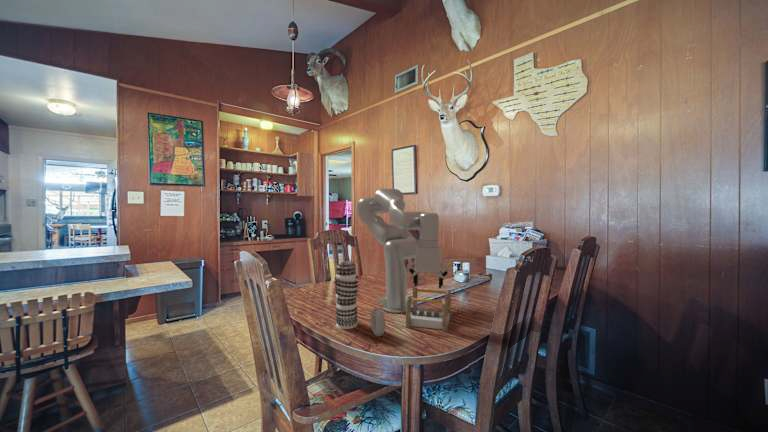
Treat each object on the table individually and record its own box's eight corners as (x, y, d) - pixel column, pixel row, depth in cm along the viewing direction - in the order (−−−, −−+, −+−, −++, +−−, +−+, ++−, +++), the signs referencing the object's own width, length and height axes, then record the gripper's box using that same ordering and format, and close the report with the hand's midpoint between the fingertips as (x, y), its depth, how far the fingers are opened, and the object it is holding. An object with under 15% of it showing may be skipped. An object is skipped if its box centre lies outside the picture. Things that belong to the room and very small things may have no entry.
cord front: (409, 300, 117) (409, 298, 117) (409, 300, 118) (409, 297, 118) (443, 303, 114) (443, 301, 114) (443, 303, 115) (443, 300, 114)
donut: (386, 340, 107) (386, 312, 107) (377, 341, 106) (377, 313, 105) (378, 329, 116) (377, 303, 116) (369, 330, 115) (369, 304, 115)
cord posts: (405, 327, 118) (405, 297, 117) (413, 314, 132) (413, 287, 132) (447, 332, 113) (447, 300, 113) (451, 318, 127) (451, 289, 127)
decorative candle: (342, 319, 127) (341, 259, 126) (362, 322, 124) (361, 260, 123) (330, 327, 119) (329, 263, 118) (351, 330, 115) (350, 265, 114)
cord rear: (416, 291, 130) (416, 289, 130) (416, 291, 131) (416, 288, 131) (447, 294, 126) (447, 291, 126) (447, 293, 127) (447, 291, 127)
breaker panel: (408, 325, 120) (408, 313, 120) (413, 316, 130) (413, 305, 129) (446, 329, 116) (446, 317, 115) (449, 320, 125) (449, 308, 125)
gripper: (405, 244, 121) (404, 286, 121) (450, 246, 115) (449, 290, 116) (409, 241, 128) (408, 281, 129) (451, 243, 123) (450, 285, 124)
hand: (428, 286), depth 122 cm, fingers open, 9 cm apart
